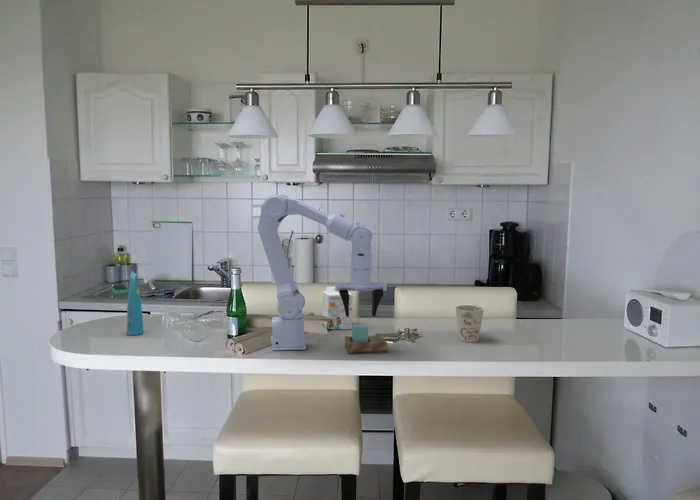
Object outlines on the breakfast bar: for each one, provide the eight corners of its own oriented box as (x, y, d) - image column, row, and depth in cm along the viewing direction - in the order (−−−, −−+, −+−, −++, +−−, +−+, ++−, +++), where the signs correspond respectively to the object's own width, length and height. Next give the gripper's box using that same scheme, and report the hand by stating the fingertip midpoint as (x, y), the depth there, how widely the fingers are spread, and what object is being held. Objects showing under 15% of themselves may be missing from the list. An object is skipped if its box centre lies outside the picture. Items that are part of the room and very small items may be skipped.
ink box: (327, 330, 172) (327, 290, 170) (321, 324, 180) (322, 285, 178) (352, 329, 174) (353, 289, 172) (346, 322, 182) (346, 284, 181)
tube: (146, 334, 163) (145, 273, 161) (130, 337, 160) (128, 275, 158) (139, 329, 169) (137, 270, 167) (123, 332, 166) (121, 271, 164)
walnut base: (348, 354, 146) (348, 343, 146) (344, 346, 154) (344, 336, 154) (387, 352, 148) (387, 342, 148) (381, 345, 155) (381, 335, 155)
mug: (451, 341, 161) (452, 309, 160) (462, 331, 172) (463, 301, 171) (478, 344, 157) (479, 312, 156) (488, 335, 168) (489, 304, 167)
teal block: (353, 349, 149) (354, 328, 148) (351, 345, 152) (352, 324, 152) (367, 348, 149) (368, 328, 148) (365, 344, 153) (365, 324, 152)
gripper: (337, 270, 143) (336, 319, 145) (389, 270, 145) (388, 318, 147) (334, 267, 150) (334, 313, 152) (384, 266, 152) (383, 312, 154)
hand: (360, 315), depth 150 cm, fingers open, 7 cm apart
